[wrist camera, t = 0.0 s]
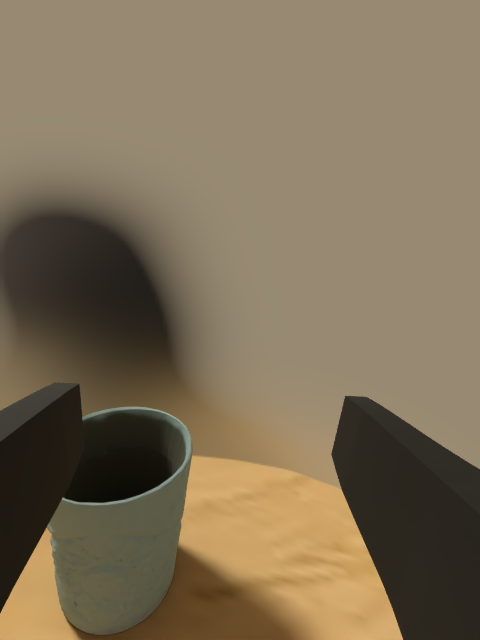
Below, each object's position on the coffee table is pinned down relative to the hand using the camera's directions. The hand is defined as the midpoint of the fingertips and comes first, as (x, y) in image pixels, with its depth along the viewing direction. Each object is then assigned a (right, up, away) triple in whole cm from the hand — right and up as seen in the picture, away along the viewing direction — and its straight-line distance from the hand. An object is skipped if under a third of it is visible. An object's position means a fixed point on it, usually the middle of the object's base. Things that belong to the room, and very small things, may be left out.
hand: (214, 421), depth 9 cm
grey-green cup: (-9, -18, +17) cm, 26 cm away
